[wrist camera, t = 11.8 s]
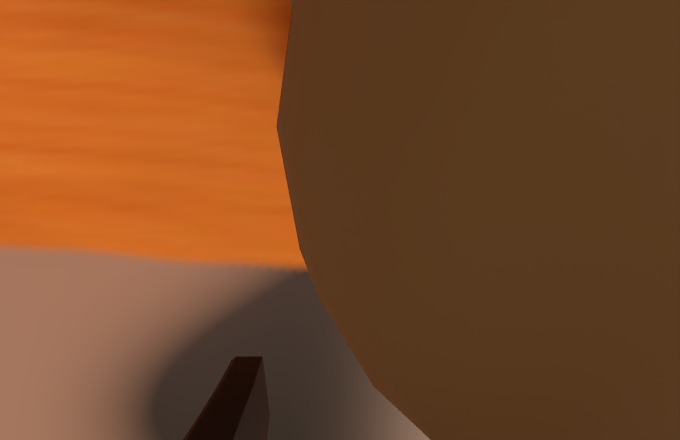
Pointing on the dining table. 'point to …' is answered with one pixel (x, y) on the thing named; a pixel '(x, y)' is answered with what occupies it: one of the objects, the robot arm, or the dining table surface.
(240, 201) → the dining table surface
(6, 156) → the dining table surface
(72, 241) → the dining table surface
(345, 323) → the cork
